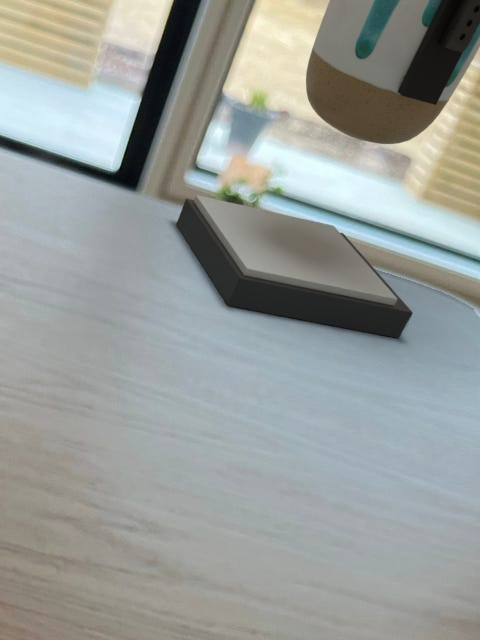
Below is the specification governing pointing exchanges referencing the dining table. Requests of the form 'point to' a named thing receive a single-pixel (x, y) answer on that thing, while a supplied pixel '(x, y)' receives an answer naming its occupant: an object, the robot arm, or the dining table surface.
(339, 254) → the scale
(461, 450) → the dining table surface
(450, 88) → the vase
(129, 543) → the dining table surface
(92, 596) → the dining table surface
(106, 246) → the dining table surface
